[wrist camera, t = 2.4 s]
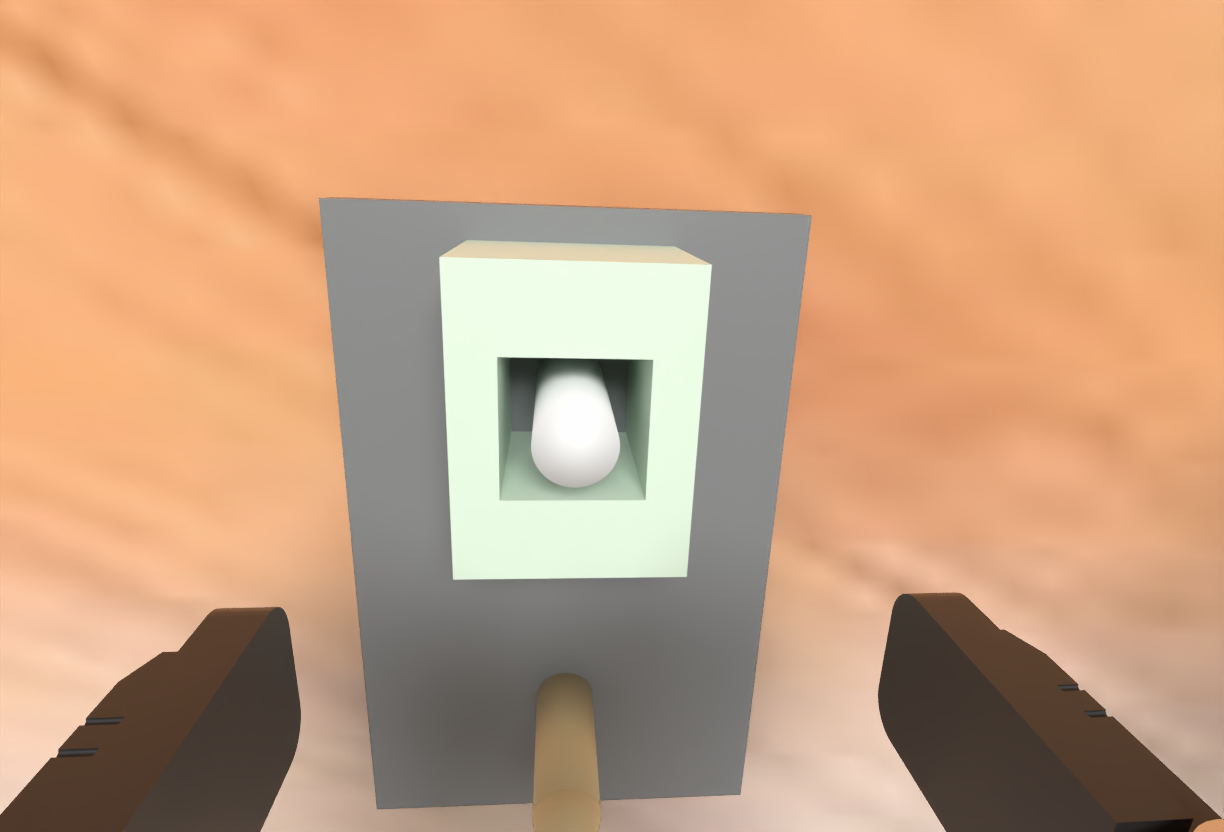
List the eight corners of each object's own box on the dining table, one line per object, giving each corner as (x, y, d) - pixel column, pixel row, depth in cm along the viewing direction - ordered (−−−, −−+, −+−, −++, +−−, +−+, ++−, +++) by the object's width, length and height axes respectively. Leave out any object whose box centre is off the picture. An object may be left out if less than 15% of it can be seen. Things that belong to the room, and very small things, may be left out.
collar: (467, 240, 20) (439, 256, 15) (674, 246, 20) (712, 265, 15) (474, 495, 22) (452, 579, 17) (658, 495, 23) (686, 576, 18)
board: (335, 197, 20) (217, 202, 13) (794, 213, 21) (912, 227, 14) (386, 776, 27) (326, 984, 20) (730, 764, 28) (789, 956, 21)
